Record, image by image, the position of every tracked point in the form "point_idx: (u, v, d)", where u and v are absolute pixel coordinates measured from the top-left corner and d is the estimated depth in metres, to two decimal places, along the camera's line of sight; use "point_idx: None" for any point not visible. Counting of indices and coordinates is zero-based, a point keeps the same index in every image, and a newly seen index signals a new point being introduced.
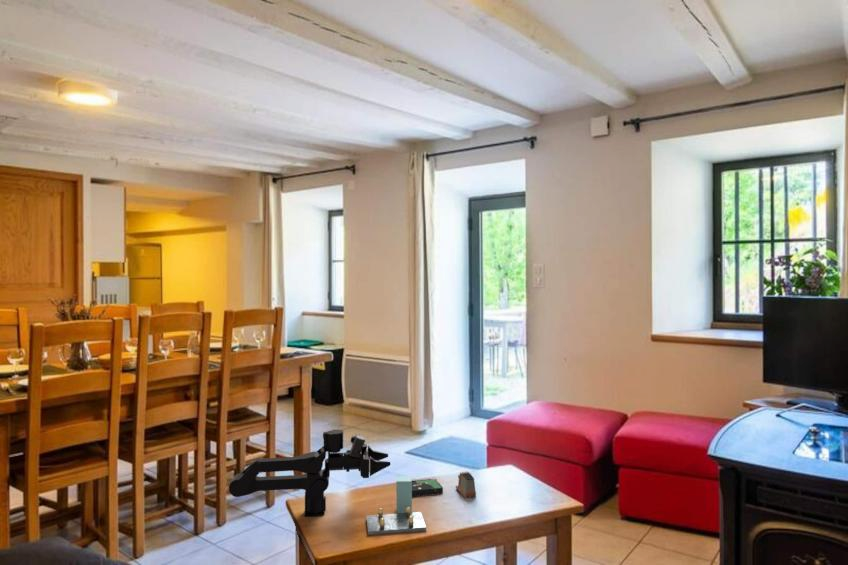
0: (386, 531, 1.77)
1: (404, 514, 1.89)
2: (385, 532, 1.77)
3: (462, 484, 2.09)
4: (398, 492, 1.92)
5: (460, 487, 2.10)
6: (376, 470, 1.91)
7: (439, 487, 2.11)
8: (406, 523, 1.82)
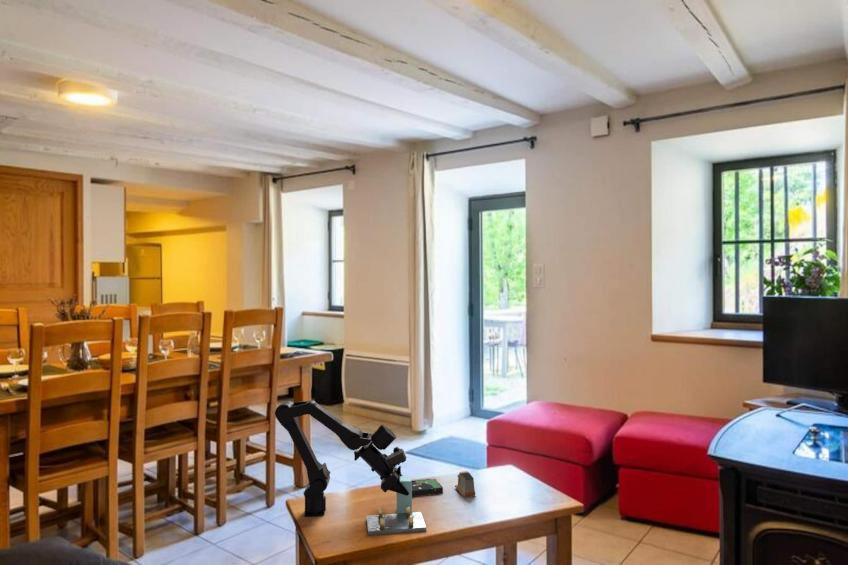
0: (386, 531, 1.77)
1: (404, 514, 1.89)
2: (385, 532, 1.77)
3: (461, 483, 2.10)
4: None
5: (459, 486, 2.11)
6: (394, 489, 1.90)
7: (439, 487, 2.11)
8: (406, 523, 1.82)
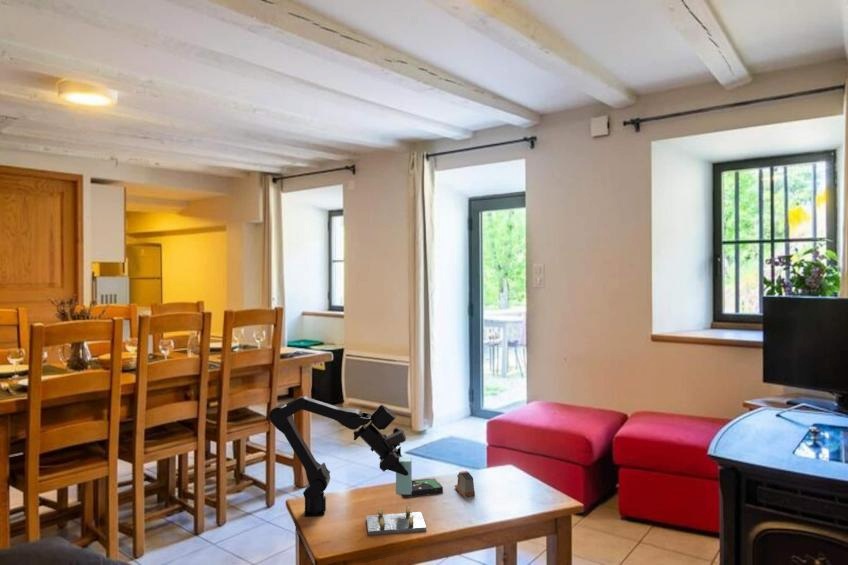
0: (386, 531, 1.77)
1: (404, 514, 1.89)
2: (385, 532, 1.77)
3: (461, 483, 2.10)
4: None
5: (459, 486, 2.11)
6: (393, 469, 1.90)
7: (439, 486, 2.12)
8: (406, 523, 1.82)
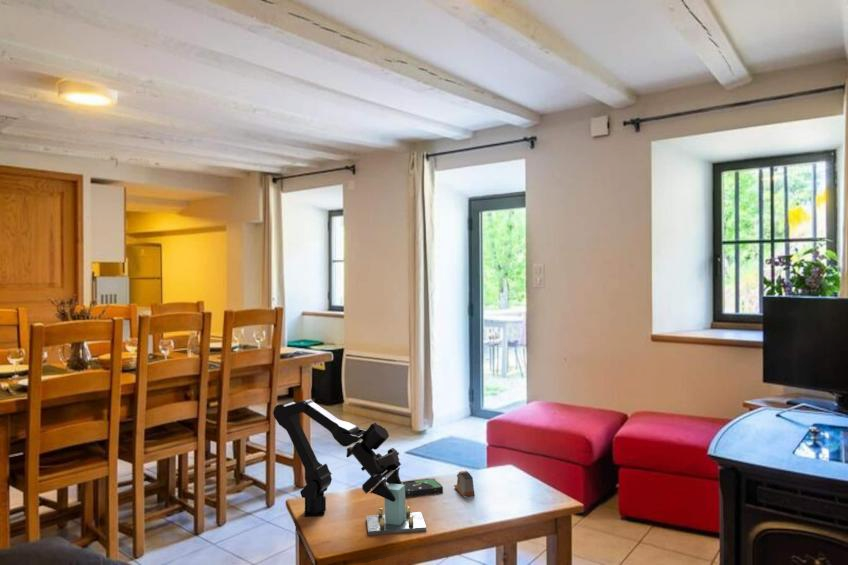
0: (386, 531, 1.77)
1: None
2: (385, 532, 1.77)
3: (460, 483, 2.10)
4: (386, 500, 1.82)
5: (459, 486, 2.11)
6: (379, 493, 1.80)
7: (439, 486, 2.12)
8: (406, 523, 1.82)
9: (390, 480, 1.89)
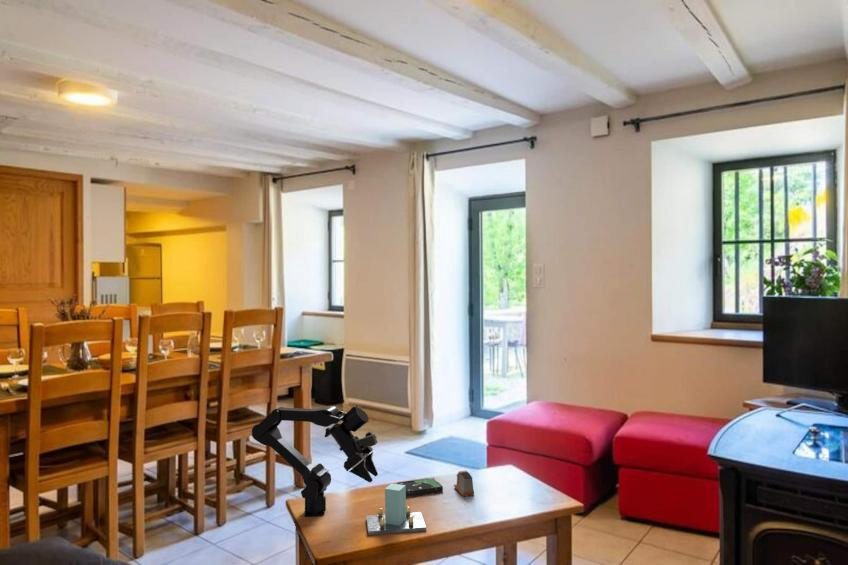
0: (386, 531, 1.77)
1: None
2: (385, 532, 1.77)
3: (460, 483, 2.10)
4: (386, 500, 1.82)
5: (458, 486, 2.11)
6: (357, 473, 1.83)
7: (439, 486, 2.12)
8: (406, 523, 1.82)
9: None
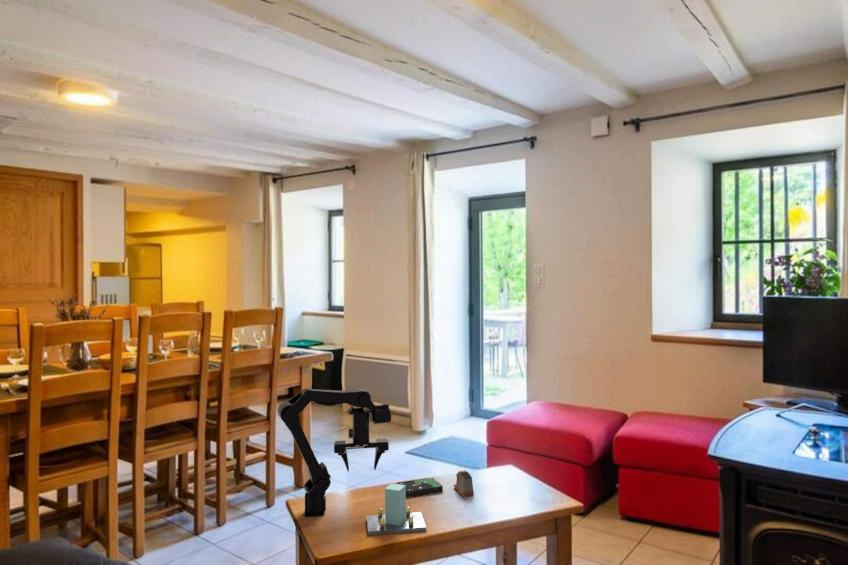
0: (386, 531, 1.77)
1: None
2: (385, 532, 1.77)
3: (459, 482, 2.11)
4: (386, 500, 1.82)
5: (458, 486, 2.12)
6: None
7: (439, 486, 2.12)
8: (406, 523, 1.82)
9: None
